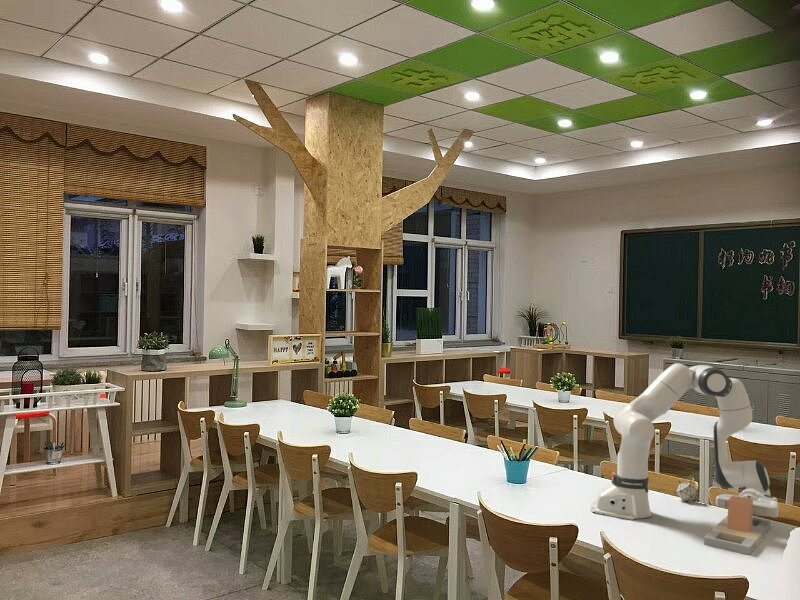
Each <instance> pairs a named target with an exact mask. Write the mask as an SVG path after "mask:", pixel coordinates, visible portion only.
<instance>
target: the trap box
mask: <svg viewBox="0 0 800 600" xmlns="http://www.w3.org/2000/svg"><path fill="white" fill-rule="evenodd" d="M770 529H771V530H772V521H769V520H765V519H760V518H754V517H753V522H752V529H751V530H750V531H749V532H743V531H738V530H733V529H729V528H728V514H727V516H725V517H724V518H723V519H722V520H720V522H719V523H717V524H716V526H713V528H712V529H711V530H710V531H709V532H708V533H707V534H705V535H704V536H703V545H705V546H709V547H713V548H718V549H722V550H725V551H726V550H727V551H731V552H733V553H735V552H736V553H740V554H744V555H748V554H749V555H748V556H750V555H752V553H753V552H754V551H755V550H756V549H757V546H758V545H760V543H762V541H763V540H764V538H765V537H766V536H767V535H768V533H769V532H770V531H771V530H770ZM769 530H770V531H769ZM766 534H767V535H766ZM765 535H766V536H765ZM762 539H763V540H762ZM761 540H762V541H761ZM753 550H754V551H753ZM752 551H753V552H752Z"/></svg>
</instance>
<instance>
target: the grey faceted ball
mask: <svg viewBox="0 0 800 600" xmlns="http://www.w3.org/2000/svg"><path fill="white" fill-rule="evenodd" d="M678 483H679V485H678V487H677V489H676V490H675V491H673V493H675V494H677V495H678V497H679V498H680V500H681V502H682V501H683V502H684V501H685V502H688V501H689V502H690V501H692V502H693V503H694V502H695V498H696V495H697V494H698V493H699V492H700V490H699V489H698V490H697V489H696V487H695V486H694V485H693V484H692V480H691V481H689V482H681V481H680V480H679V481H678Z"/></svg>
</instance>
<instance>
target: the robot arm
mask: <svg viewBox="0 0 800 600" xmlns="http://www.w3.org/2000/svg"><path fill="white" fill-rule="evenodd" d="M689 390H692V391H695V392H697V393H699V394H701V395H704V396H705V395H706V396H709V397H710V396H711V397H714V398H715V399H716V401H717V405H718V409H719V418H718V419H717V421H716V422H715V423H714V426H713V451H714V452H713V453H714V479H715V483H716V484H718V485H719V486H720V487H722V488H723V489H726V490H727V489H735V488H745V489H744V490H742V491H741V492H740V493H739V494H738V495H736V496H737V497H743V498H748V499H753V516H755V515H758V516H763V517H768V518H776V519H777V518H778V517H779V503H778V498H777V497H774V496H771V490H770V487H771V478H770V477H771V476H770V472H769V469H768V468H767V467H766V466H765V465H764V464H763V463H762V462H761V461H760V460H742V461H738V460H737V461H729V460H728V455H727V453H728V452H727V439H728V438H729V437H731V436H732V435H735V434H737V433H738V432H741V431H743V430H745V429H746V428H747V427H749V425H750V424H751V423H752V421H753V410H752V406H751V405H752V404H751V402H750V397H749V396H748V393H747V390H746V388H745V386H744V384H743V382H742V380H740V379H738V378H734V377H728V376H727V374H726V373H725V372H724V371H722V370H721V369H719V368H717V367H715V366H712V365H709V364H693V365H690V366H686V365H685V364H682V363H677V362H676V363H673V364H671V365H670V366H669V367H667V368H666V369H665V370H664V371H662V372H661V373H660V374H659V375H658V376H657V377H656V378H655V379H654V380H653V382H651V384H650V385H648V387H647V388H646V389H645V390H644V391H643V392H642V393H641V394H640V395H639V396H637V397H636V398H635V399H632V401H630V402H629V403H628V404H627V405H626V406H625V407H623V408H621V409H619V410H618V411H616V413H615V414H614V415H613V425H614V429H615V431H616V432H617V433H618V434H619V435H621V442H620V447H619V450H618V453H617V463H616V464H617V465H616V467H617V471H616V472H617V473H616V472H612V473H611V476H610V477H611V483H609V484H608V485H606V486H605V487H603V488H602V489H600V490H599V491H598V493H597V495H596V498H595V501H593V502H591V503H590V505H589V510H590V511H591V512H592V513H593V512H595V513H594V514H598V513H599V515H603V514H604V516H610V517H615V518H620V519H625V520H636V519H645V518H649V517H651V516H652V511H651V507H650V501H649V494H648V493H649V490H650V488H649V487H650V479H649V476H648V472H649V469H648V468H649V467H648V466H649V464H648V463H649V453H650V449H651V443H652V440H653V439H654V436H655V433H656V432H655V431H656V429H655V425H653V422H654V421H655V420H657V419H658V418H660V417H661V416H663V415H665V414H667V412H668V411H670V409H671V408H672V407H673V406H674V405H675V404H676V403H677V401H679V400H680V399H681V398H682V396H683V395H684V394H685V393H686V392H687V391H689ZM732 496H735V495H734V494H733V495H732V494H726V493H723V494H720V495H717V496H716V498H715V506H716V507H718V508H722V509H727V510H728V499H730V498H731V497H732Z"/></svg>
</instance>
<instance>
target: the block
mask: <svg viewBox="0 0 800 600" xmlns="http://www.w3.org/2000/svg"><path fill="white" fill-rule="evenodd" d="M737 496H738V495H734V496H732V497H731V498H730V499H728V509H727V515H728V528H729V529H733V530H738V531H743V532H749V531H750V530H751V529H752V522H753V518H754V515H753V499H748V498H743V497H737Z"/></svg>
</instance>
